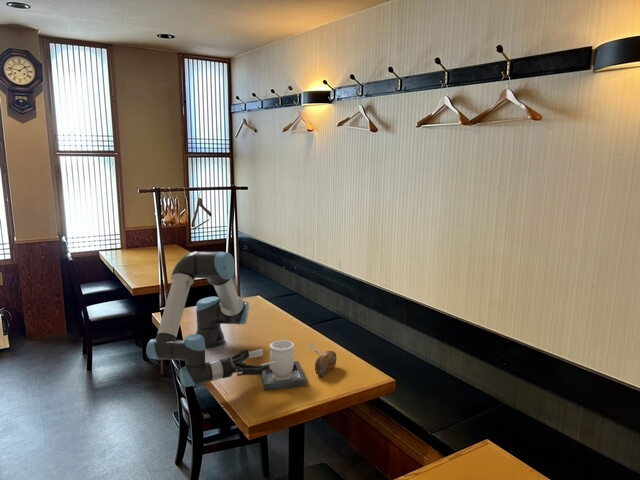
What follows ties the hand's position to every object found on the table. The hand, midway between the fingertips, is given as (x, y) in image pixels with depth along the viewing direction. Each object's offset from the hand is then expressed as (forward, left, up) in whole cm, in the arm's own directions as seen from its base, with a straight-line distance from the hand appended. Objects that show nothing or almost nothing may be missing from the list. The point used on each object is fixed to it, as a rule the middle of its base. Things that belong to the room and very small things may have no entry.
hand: (269, 358), depth 194 cm
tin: (-4, +26, -11) cm, 28 cm away
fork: (-22, +28, -11) cm, 37 cm away
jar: (-1, +6, -10) cm, 12 cm away
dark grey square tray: (-2, +6, -11) cm, 12 cm away
